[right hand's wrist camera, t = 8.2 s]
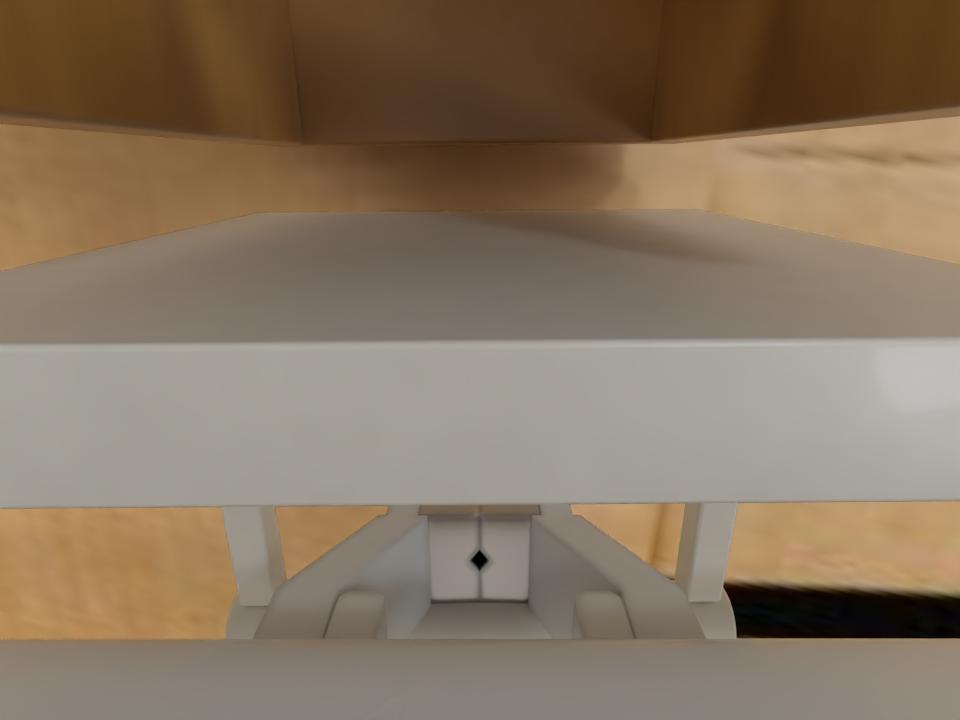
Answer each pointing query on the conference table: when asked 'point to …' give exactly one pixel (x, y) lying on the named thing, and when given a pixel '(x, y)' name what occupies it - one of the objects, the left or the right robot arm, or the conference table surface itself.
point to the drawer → (478, 279)
